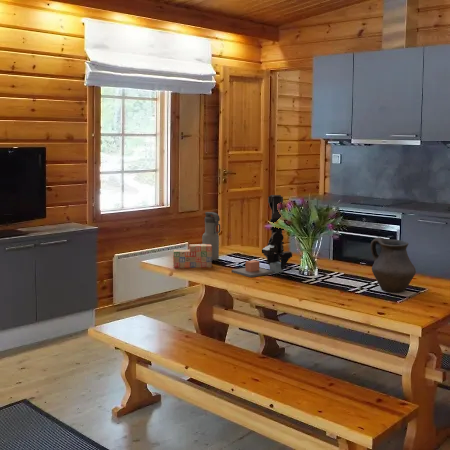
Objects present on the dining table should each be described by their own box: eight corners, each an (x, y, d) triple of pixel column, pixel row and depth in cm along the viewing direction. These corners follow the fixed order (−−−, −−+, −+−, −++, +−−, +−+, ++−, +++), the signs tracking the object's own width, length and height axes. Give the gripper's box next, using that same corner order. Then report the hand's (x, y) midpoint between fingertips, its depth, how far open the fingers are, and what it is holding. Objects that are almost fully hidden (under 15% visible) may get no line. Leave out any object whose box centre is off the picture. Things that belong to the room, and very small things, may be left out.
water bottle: (222, 258, 382) (222, 212, 378) (213, 261, 374) (213, 214, 370) (208, 257, 388) (208, 211, 384) (199, 259, 379) (199, 212, 375)
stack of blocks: (173, 268, 356) (173, 246, 354) (173, 265, 362) (173, 244, 360) (212, 267, 359) (212, 245, 357) (210, 265, 365) (210, 243, 363)
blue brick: (277, 270, 351) (277, 261, 350) (283, 272, 347) (283, 263, 347) (269, 272, 347) (269, 263, 347) (275, 273, 344) (275, 264, 343)
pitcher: (407, 297, 294) (409, 244, 291) (361, 291, 306) (363, 239, 302) (419, 288, 311) (422, 238, 308) (376, 282, 323) (378, 234, 319)
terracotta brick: (253, 269, 348) (254, 260, 347) (259, 270, 345) (259, 261, 344) (245, 270, 344) (245, 261, 344) (250, 271, 341) (250, 262, 340)
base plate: (254, 268, 356) (254, 266, 356) (273, 273, 343) (273, 271, 343) (231, 272, 346) (231, 269, 346) (250, 277, 334) (250, 275, 333)
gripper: (254, 239, 347) (254, 267, 350) (277, 243, 333) (277, 273, 335) (269, 237, 354) (269, 264, 356) (293, 241, 340) (292, 270, 342)
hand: (276, 268), depth 347 cm, fingers open, 9 cm apart
